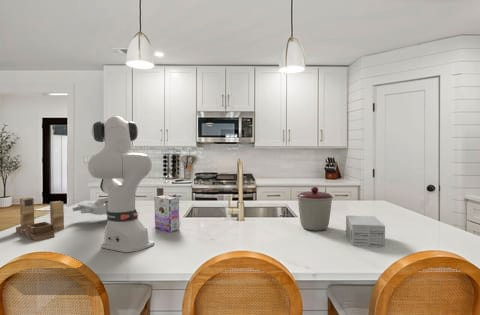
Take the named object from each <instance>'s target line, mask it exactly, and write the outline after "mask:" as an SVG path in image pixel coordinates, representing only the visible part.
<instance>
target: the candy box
mask: <svg viewBox="0 0 480 315" xmlns="http://www.w3.org/2000/svg"><path fill="white" fill-rule="evenodd" d="M154 225H155V227H154V228H156V229H159V230H161V231H164V232H169V233H173V232H178V231H180V198H179V197H177V196H176V197H172V196H169V195H165V194H163V195H162V196H157V195H156V196H154Z"/></svg>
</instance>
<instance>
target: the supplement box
mask: <svg viewBox="0 0 480 315" xmlns="http://www.w3.org/2000/svg"><path fill="white" fill-rule="evenodd" d="M345 217H346V218H345V220H346V222H345V225H346V226H345V235H346V236H347V238H348V240H349V242H350V244H351V246H353V247H367V248H368V247H372V248H373V247H374V248H385V246H386V245H385V244H386V242H385V241H386V225H384V224H383V223H382V222H381V221H380V220H379V219H377V217H376V216H374V215H371V216H370V215H345Z"/></svg>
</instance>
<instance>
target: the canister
mask: <svg viewBox="0 0 480 315" xmlns="http://www.w3.org/2000/svg"><path fill="white" fill-rule="evenodd" d="M296 198H297V203H298V212H299V221H300V225H301V226H302V228H303V229H304V230H308V231H316V232H317V231H318V232H319V231H324V230H326V229H328V227H329V225H330V217H331V210H332V200H333V199H334V196H333V195H331V194H330V193H328V192H325V191H323V192H322V191H319V188H318V187H317V186H312V187H311V188H310V191H302V192H300V193H298V194H296Z"/></svg>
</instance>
